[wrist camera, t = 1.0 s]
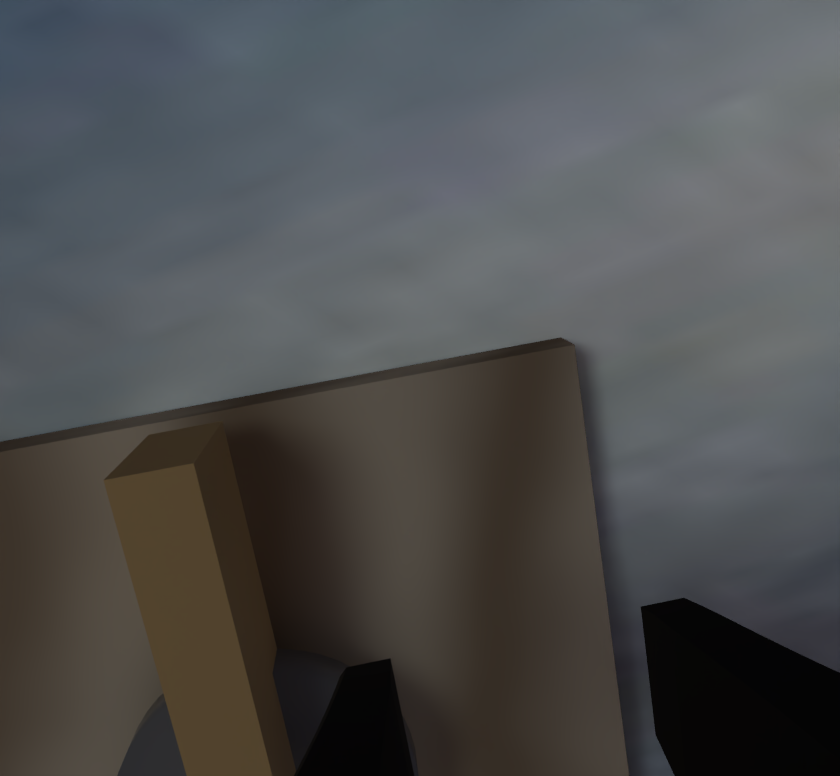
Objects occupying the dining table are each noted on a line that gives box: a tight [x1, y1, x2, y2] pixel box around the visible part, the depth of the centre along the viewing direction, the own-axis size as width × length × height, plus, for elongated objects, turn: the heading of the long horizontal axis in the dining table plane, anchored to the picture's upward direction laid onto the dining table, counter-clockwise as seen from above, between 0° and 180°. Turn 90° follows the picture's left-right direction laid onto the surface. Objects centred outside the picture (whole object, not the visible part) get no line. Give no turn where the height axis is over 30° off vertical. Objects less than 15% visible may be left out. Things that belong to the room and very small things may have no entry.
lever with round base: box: [103, 421, 419, 776], centre depth 16 cm, size 12×7×3 cm, turn 10°
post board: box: [0, 338, 629, 776], centre depth 19 cm, size 18×18×2 cm
